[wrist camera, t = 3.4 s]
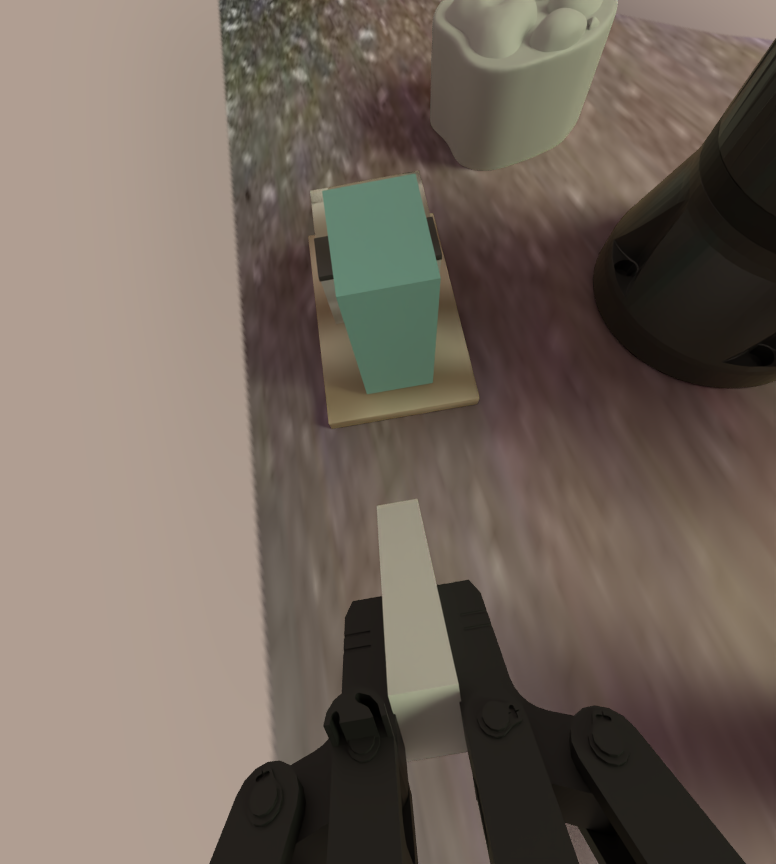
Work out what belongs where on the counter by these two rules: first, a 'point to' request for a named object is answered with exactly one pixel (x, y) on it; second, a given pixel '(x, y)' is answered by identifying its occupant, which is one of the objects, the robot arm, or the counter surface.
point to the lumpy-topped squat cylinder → (512, 74)
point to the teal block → (385, 280)
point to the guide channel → (338, 357)
